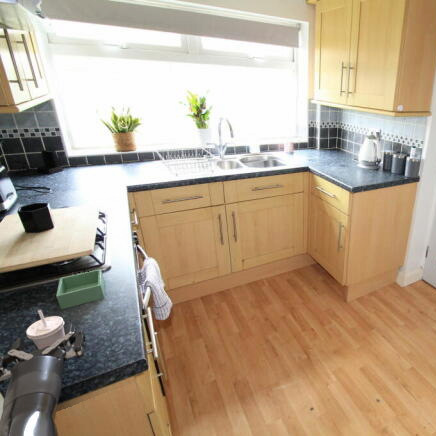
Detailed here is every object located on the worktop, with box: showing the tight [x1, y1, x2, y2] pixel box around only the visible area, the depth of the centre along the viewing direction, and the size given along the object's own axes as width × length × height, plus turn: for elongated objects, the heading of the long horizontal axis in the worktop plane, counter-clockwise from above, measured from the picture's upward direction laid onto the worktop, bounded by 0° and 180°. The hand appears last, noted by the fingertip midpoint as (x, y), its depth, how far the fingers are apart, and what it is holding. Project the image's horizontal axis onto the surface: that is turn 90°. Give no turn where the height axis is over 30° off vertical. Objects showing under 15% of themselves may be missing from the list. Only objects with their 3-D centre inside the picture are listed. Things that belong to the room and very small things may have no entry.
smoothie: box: [25, 309, 66, 350], centre depth 72 cm, size 6×6×14 cm
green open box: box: [55, 268, 106, 310], centre depth 95 cm, size 10×10×5 cm
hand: (46, 333), depth 71 cm, fingers open, 8 cm apart
